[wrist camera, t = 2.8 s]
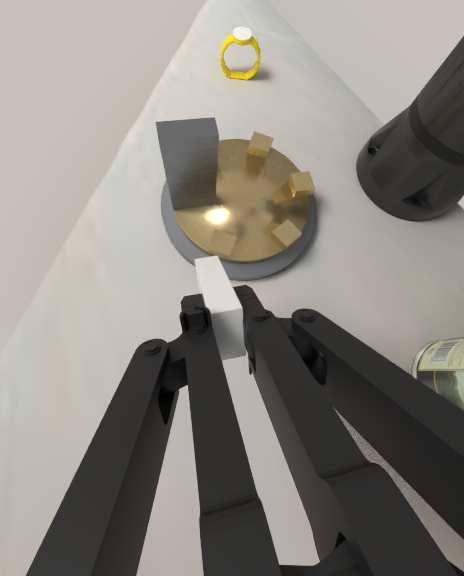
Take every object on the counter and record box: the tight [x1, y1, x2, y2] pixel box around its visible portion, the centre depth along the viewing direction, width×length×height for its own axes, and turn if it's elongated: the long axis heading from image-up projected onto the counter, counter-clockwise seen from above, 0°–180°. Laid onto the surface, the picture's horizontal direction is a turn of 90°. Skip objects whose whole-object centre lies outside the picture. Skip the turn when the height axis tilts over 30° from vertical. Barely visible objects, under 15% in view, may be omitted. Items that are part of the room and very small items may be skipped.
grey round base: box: [161, 171, 316, 281], centre depth 35 cm, size 20×20×2 cm
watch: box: [220, 27, 260, 80], centre depth 41 cm, size 6×3×6 cm, turn 89°
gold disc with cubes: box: [156, 117, 315, 264], centre depth 29 cm, size 17×17×12 cm
